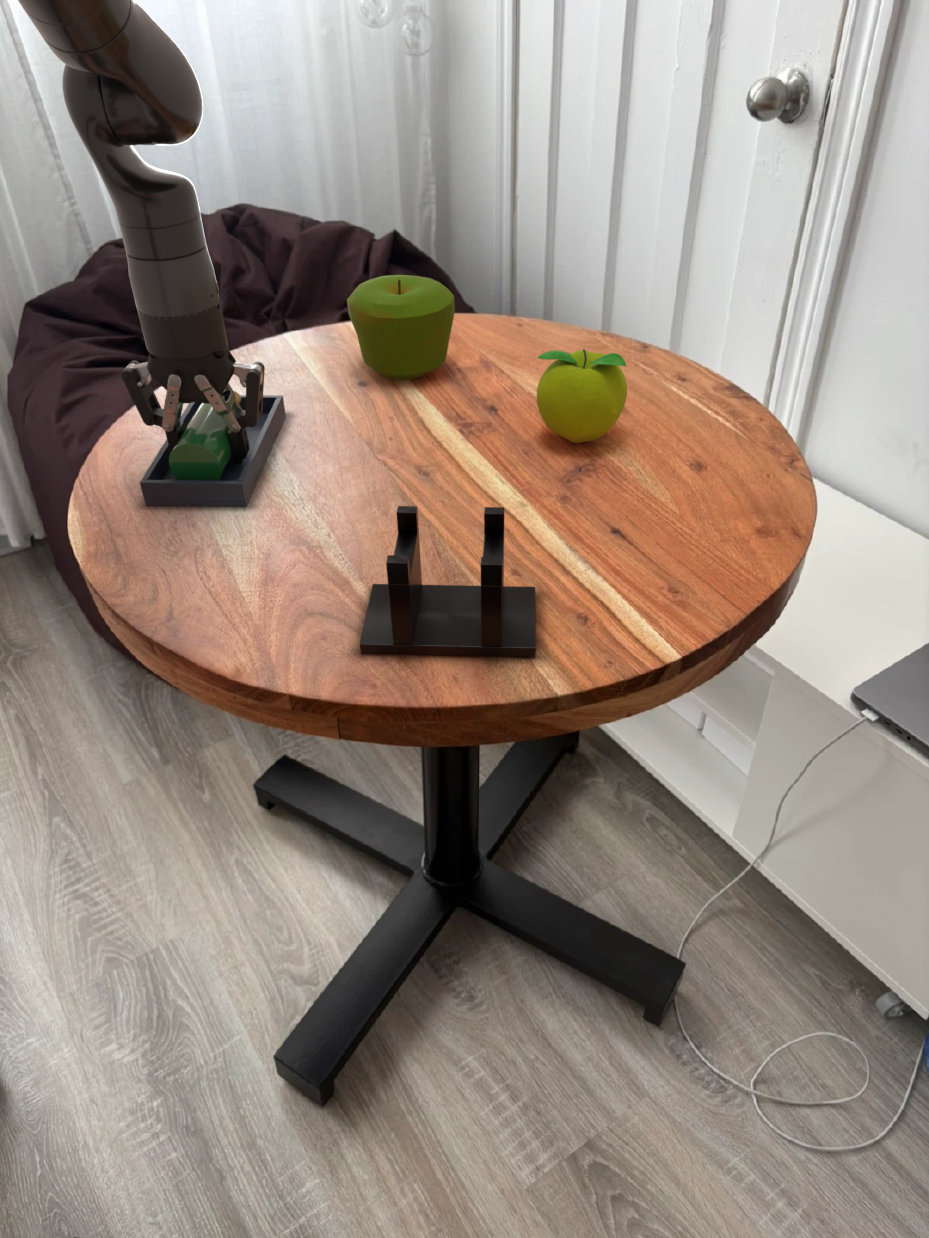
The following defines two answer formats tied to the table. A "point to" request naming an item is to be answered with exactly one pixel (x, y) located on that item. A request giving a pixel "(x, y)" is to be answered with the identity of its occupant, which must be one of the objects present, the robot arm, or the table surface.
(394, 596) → the rack
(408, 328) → the apple
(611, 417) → the fruit
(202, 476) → the green bottle
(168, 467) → the tray
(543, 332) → the table surface
